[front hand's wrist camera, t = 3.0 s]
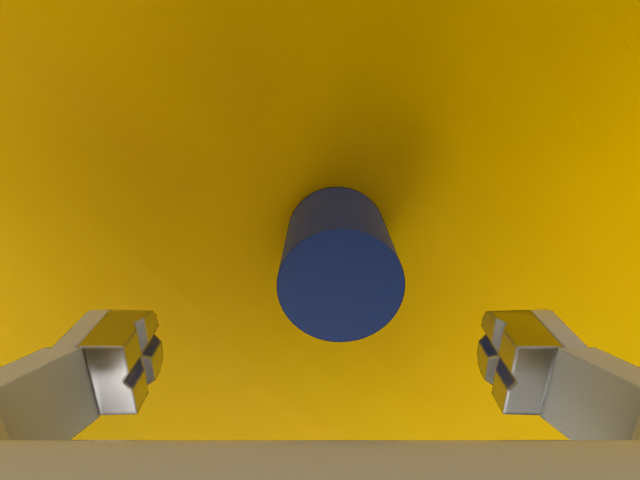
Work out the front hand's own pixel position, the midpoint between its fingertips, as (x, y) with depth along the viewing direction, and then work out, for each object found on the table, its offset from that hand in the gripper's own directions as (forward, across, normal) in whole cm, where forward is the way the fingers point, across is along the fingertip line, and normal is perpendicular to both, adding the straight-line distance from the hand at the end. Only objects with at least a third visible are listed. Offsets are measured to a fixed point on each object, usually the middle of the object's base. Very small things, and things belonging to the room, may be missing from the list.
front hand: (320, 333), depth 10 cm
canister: (+6, +1, 0) cm, 6 cm away
